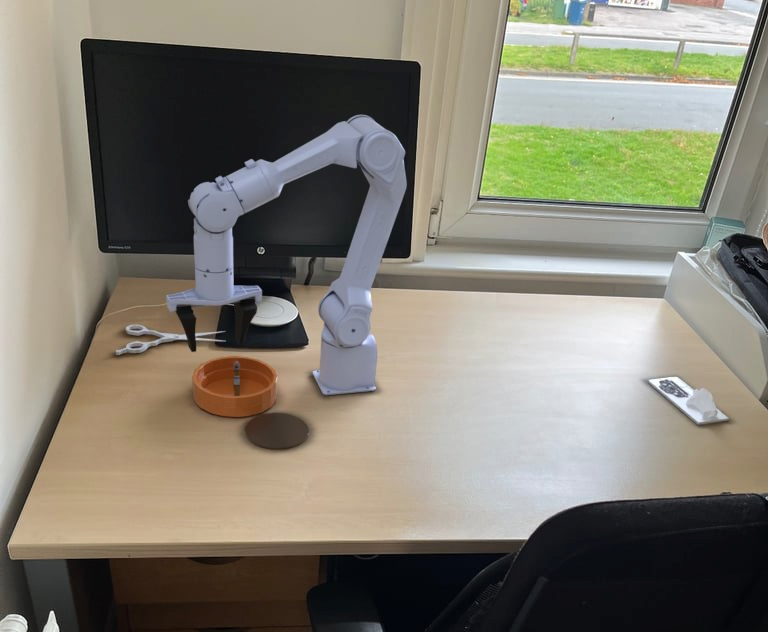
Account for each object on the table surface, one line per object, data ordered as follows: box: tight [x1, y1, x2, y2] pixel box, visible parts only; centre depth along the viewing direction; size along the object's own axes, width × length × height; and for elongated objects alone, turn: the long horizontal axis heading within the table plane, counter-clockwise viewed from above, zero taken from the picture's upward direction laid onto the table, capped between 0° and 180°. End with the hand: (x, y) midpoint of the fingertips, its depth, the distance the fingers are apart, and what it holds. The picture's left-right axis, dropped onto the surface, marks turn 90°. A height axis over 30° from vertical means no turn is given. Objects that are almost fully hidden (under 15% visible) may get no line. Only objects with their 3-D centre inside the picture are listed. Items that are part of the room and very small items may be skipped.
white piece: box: [647, 376, 730, 426], centre depth 149 cm, size 15×7×4 cm, turn 20°
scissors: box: [115, 324, 226, 356], centre depth 152 cm, size 11×1×20 cm
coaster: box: [244, 412, 310, 451], centre depth 130 cm, size 10×10×1 cm
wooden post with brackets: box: [233, 361, 240, 396], centre depth 137 cm, size 2×8×4 cm, turn 10°
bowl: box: [191, 355, 278, 418], centre depth 136 cm, size 14×14×4 cm
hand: (216, 345), depth 132 cm, fingers open, 7 cm apart
